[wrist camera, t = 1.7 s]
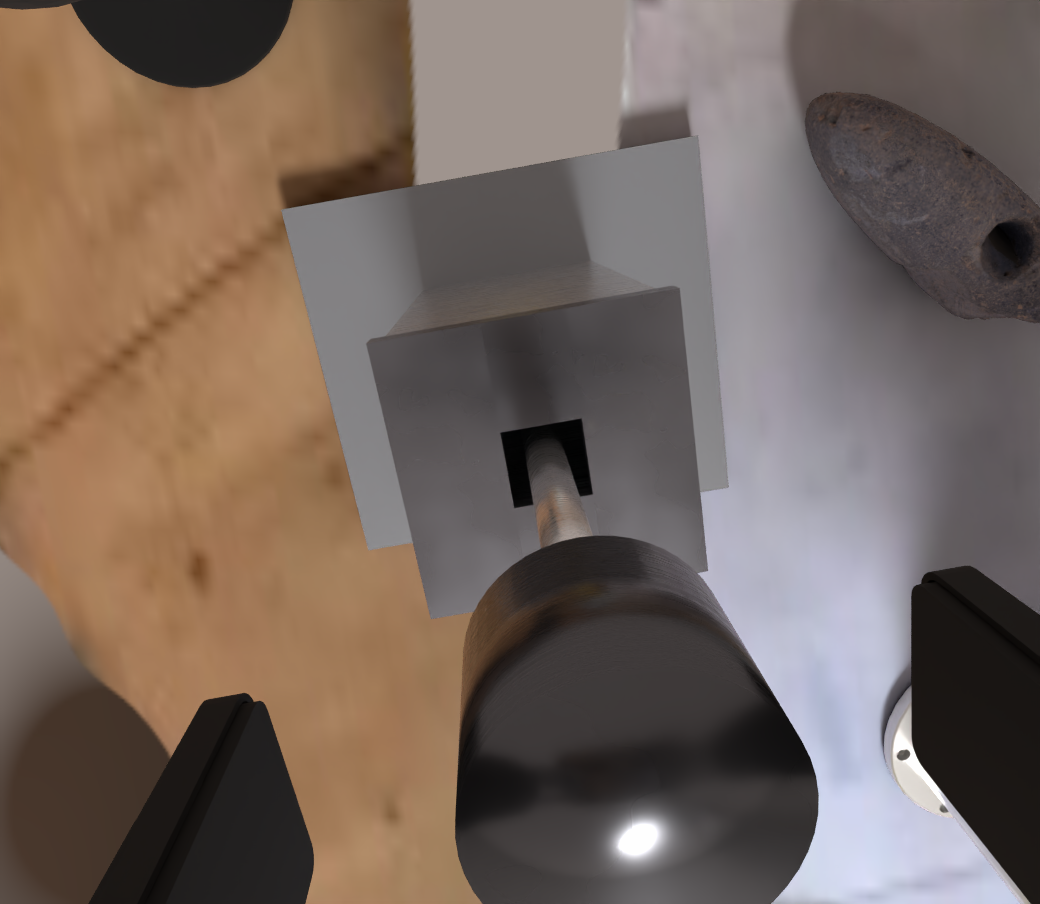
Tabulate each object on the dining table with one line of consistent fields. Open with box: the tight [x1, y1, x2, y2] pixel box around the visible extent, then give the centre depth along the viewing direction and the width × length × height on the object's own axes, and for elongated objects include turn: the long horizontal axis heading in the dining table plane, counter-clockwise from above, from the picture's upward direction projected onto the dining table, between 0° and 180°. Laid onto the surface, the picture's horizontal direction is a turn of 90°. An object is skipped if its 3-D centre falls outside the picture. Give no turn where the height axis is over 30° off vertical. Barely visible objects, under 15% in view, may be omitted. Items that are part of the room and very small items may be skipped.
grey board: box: [281, 135, 729, 550], centre depth 38 cm, size 20×18×1 cm
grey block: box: [366, 260, 708, 619], centre depth 30 cm, size 9×12×17 cm
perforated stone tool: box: [805, 92, 1040, 323], centre depth 34 cm, size 15×5×7 cm, turn 51°
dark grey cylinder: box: [455, 423, 819, 904], centre depth 18 cm, size 4×4×20 cm
